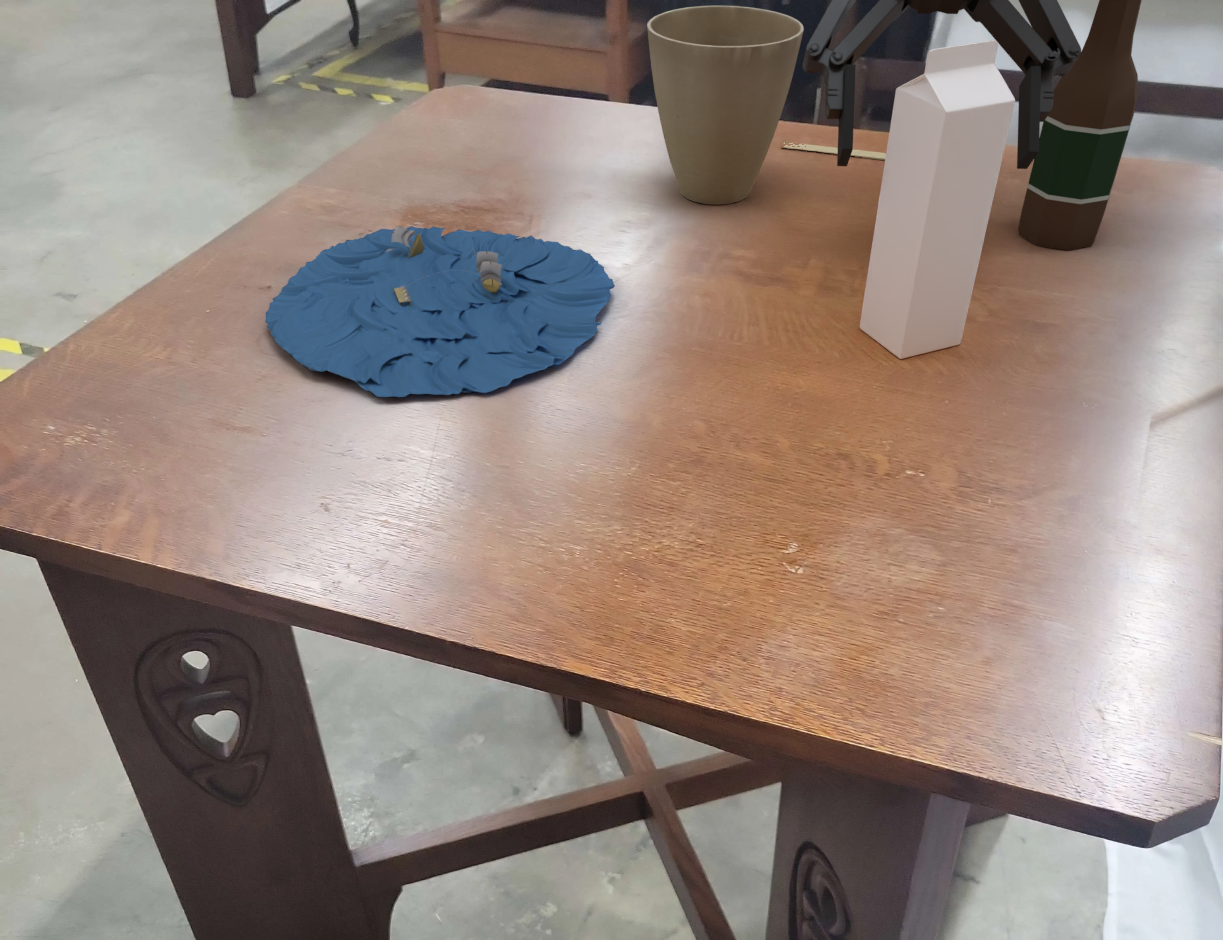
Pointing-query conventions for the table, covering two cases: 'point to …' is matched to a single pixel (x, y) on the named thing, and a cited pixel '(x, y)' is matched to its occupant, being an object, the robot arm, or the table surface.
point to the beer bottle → (1084, 135)
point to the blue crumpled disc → (439, 309)
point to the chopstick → (835, 150)
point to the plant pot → (721, 93)
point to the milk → (936, 199)
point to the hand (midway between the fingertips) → (935, 159)
